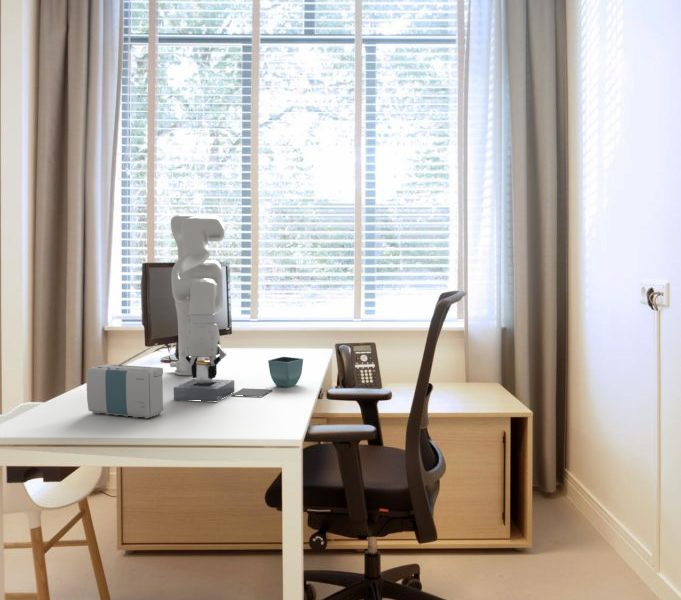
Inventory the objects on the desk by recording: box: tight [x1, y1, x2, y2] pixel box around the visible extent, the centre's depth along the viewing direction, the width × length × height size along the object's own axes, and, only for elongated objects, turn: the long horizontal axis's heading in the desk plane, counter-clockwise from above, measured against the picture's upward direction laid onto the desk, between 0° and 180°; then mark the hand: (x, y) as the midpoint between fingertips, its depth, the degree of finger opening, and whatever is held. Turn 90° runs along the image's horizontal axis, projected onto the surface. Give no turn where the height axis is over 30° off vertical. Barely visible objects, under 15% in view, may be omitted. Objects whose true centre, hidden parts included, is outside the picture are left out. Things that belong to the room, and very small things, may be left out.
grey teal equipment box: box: [86, 343, 164, 419], centre depth 173 cm, size 21×8×20 cm, turn 69°
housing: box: [173, 378, 235, 402], centre depth 195 cm, size 14×14×4 cm
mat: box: [231, 387, 273, 397], centre depth 199 cm, size 10×10×1 cm
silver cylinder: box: [195, 359, 213, 386], centre depth 195 cm, size 5×5×10 cm
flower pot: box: [267, 356, 304, 388], centre depth 211 cm, size 9×9×9 cm
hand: (204, 377), depth 195 cm, fingers closed on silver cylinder, 5 cm apart
